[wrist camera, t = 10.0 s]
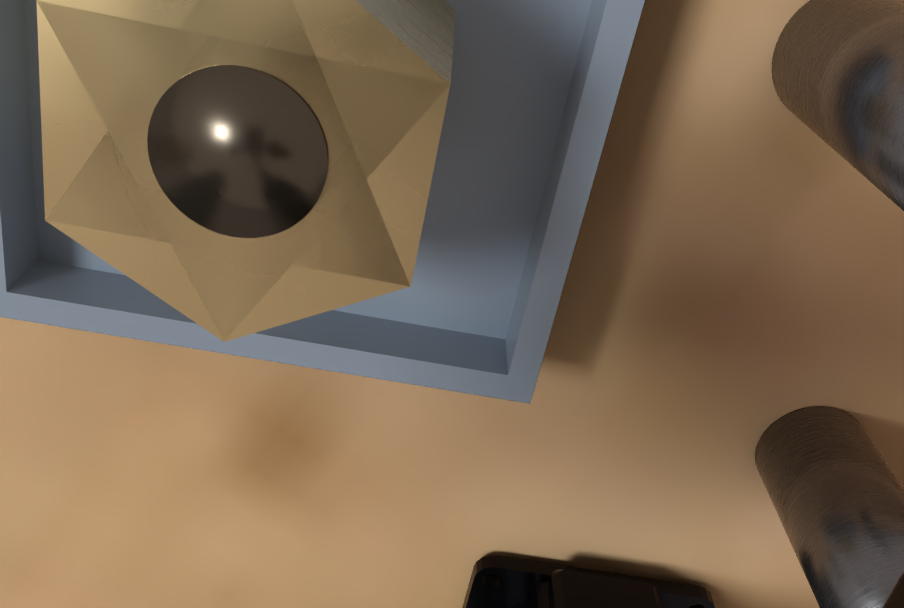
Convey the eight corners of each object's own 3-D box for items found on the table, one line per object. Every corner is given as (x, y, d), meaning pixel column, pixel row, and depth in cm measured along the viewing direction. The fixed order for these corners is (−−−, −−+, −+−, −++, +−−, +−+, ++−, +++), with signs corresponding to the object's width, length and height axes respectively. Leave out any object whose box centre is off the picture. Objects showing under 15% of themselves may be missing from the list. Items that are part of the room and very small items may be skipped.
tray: (524, 352, 20) (530, 403, 18) (23, 267, 19) (-22, 313, 17) (677, -212, 14) (706, -217, 12) (-18, -366, 13) (-91, -395, 12)
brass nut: (412, 235, 17) (393, 373, 13) (156, 187, 17) (47, 313, 13) (473, -79, 15) (474, -39, 10) (165, -146, 14) (29, -134, 10)
